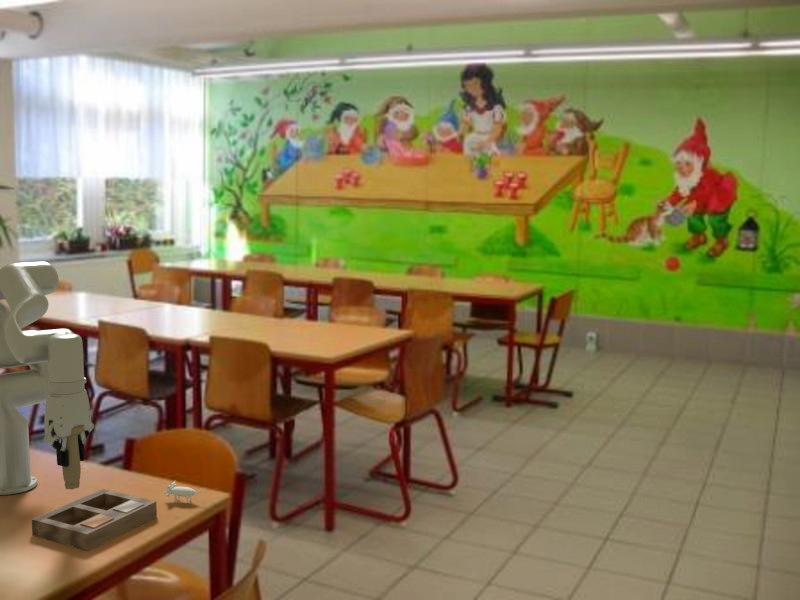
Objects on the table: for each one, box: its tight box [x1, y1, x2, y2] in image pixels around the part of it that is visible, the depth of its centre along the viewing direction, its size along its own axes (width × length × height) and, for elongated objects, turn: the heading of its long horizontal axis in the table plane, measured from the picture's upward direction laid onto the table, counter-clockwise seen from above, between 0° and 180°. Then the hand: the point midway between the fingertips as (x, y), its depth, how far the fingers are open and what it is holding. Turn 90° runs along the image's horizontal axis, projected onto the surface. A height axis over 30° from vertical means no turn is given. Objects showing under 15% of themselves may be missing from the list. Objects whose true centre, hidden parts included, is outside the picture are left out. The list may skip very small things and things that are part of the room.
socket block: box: [31, 488, 158, 552], centre depth 199 cm, size 18×22×4 cm
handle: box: [61, 425, 84, 490], centre depth 193 cm, size 5×6×15 cm
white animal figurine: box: [164, 480, 208, 504], centre depth 214 cm, size 12×5×5 cm, turn 77°
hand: (70, 462), depth 193 cm, fingers closed on handle, 3 cm apart
